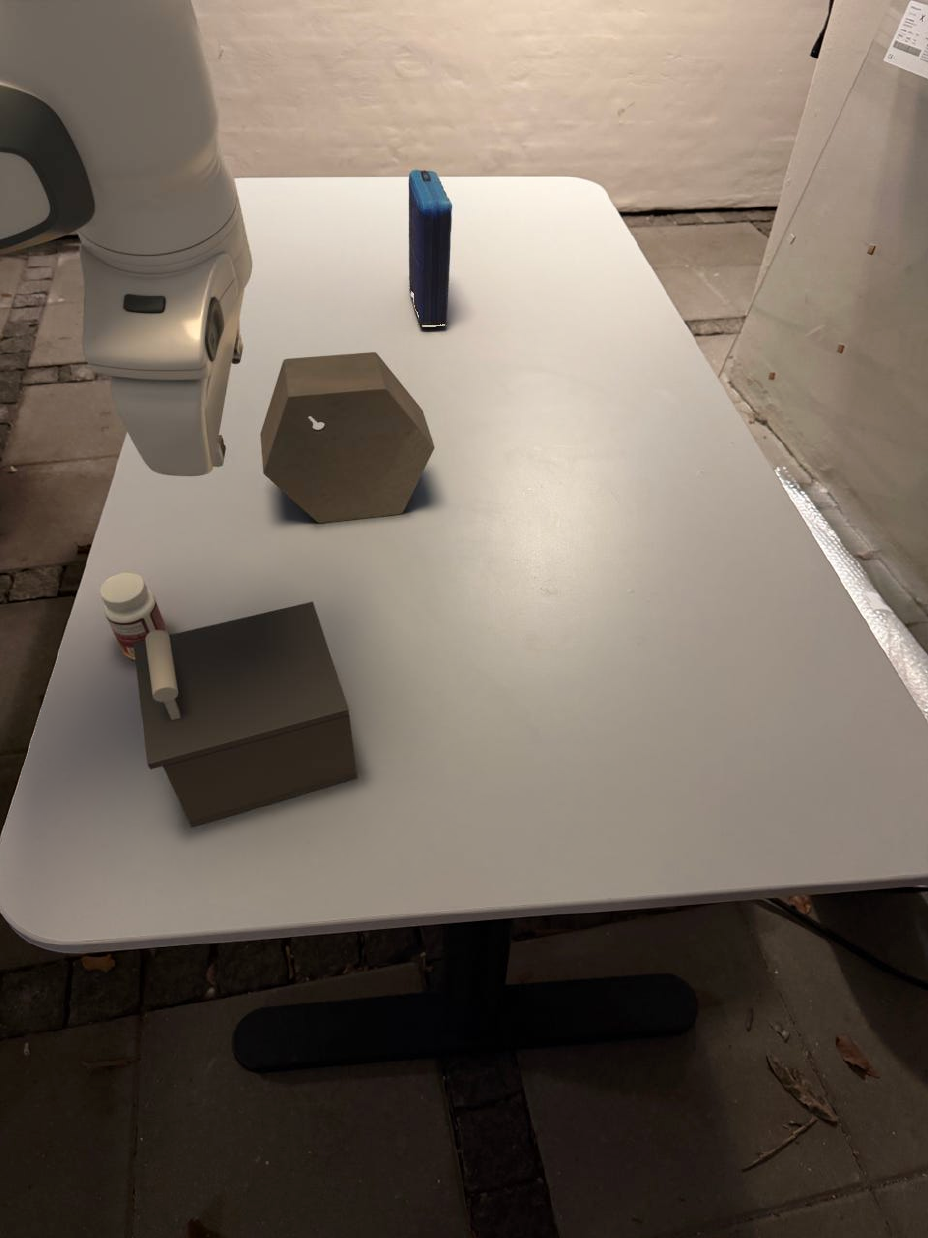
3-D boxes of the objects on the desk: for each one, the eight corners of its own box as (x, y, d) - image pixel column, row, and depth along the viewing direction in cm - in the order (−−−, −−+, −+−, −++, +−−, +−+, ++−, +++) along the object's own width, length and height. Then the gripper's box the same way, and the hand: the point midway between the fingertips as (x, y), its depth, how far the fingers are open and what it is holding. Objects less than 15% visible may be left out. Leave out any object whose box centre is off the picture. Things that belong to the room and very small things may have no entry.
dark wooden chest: (191, 827, 66) (162, 767, 59) (174, 712, 74) (146, 646, 67) (357, 778, 70) (349, 715, 63) (324, 674, 78) (313, 607, 70)
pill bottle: (146, 620, 82) (123, 562, 75) (179, 638, 80) (159, 581, 74) (111, 649, 79) (84, 591, 73) (145, 669, 77) (120, 612, 71)
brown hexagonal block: (446, 439, 97) (345, 313, 83) (459, 476, 92) (354, 349, 78) (339, 509, 102) (225, 401, 87) (346, 548, 97) (226, 441, 82)
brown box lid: (150, 770, 59) (131, 732, 55) (135, 649, 66) (118, 608, 63) (349, 715, 63) (344, 676, 59) (313, 607, 70) (307, 566, 67)
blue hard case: (405, 293, 134) (403, 165, 119) (436, 291, 135) (437, 164, 120) (418, 334, 125) (417, 201, 110) (451, 332, 125) (454, 199, 111)
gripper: (146, 124, 48) (200, 299, 61) (73, 377, 40) (154, 520, 52) (248, 131, 49) (281, 303, 61) (198, 384, 40) (248, 524, 53)
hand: (222, 405), depth 57 cm, fingers open, 8 cm apart
